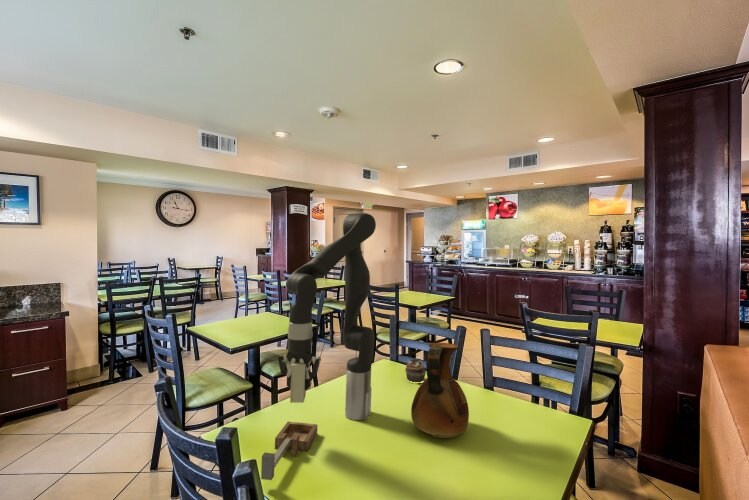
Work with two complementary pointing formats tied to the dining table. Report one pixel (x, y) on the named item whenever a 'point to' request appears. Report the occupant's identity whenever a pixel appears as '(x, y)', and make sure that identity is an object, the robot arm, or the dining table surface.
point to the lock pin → (272, 460)
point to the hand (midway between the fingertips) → (298, 388)
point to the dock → (297, 436)
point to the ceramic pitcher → (440, 396)
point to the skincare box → (297, 383)
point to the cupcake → (415, 370)
